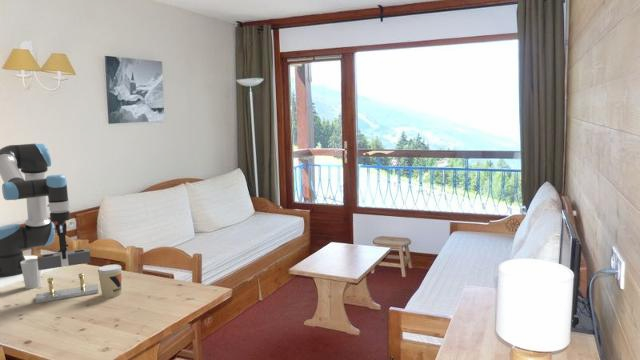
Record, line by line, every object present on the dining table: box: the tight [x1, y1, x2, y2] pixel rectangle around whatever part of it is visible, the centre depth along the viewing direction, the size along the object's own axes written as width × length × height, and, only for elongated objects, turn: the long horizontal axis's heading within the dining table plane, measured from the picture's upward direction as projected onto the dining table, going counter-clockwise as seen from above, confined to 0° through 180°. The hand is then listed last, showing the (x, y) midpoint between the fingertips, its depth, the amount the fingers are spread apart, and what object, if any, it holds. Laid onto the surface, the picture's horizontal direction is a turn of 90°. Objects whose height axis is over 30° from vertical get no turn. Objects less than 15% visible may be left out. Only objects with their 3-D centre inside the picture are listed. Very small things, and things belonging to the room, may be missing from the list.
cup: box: [20, 258, 42, 290], centre depth 232 cm, size 8×8×12 cm
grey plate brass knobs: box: [35, 272, 99, 304], centre depth 219 cm, size 24×8×8 cm, turn 117°
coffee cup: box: [97, 264, 123, 298], centre depth 218 cm, size 9×9×12 cm
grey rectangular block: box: [36, 247, 92, 271], centre depth 219 cm, size 20×6×6 cm, turn 117°
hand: (65, 264), depth 219 cm, fingers closed on grey rectangular block, 6 cm apart
